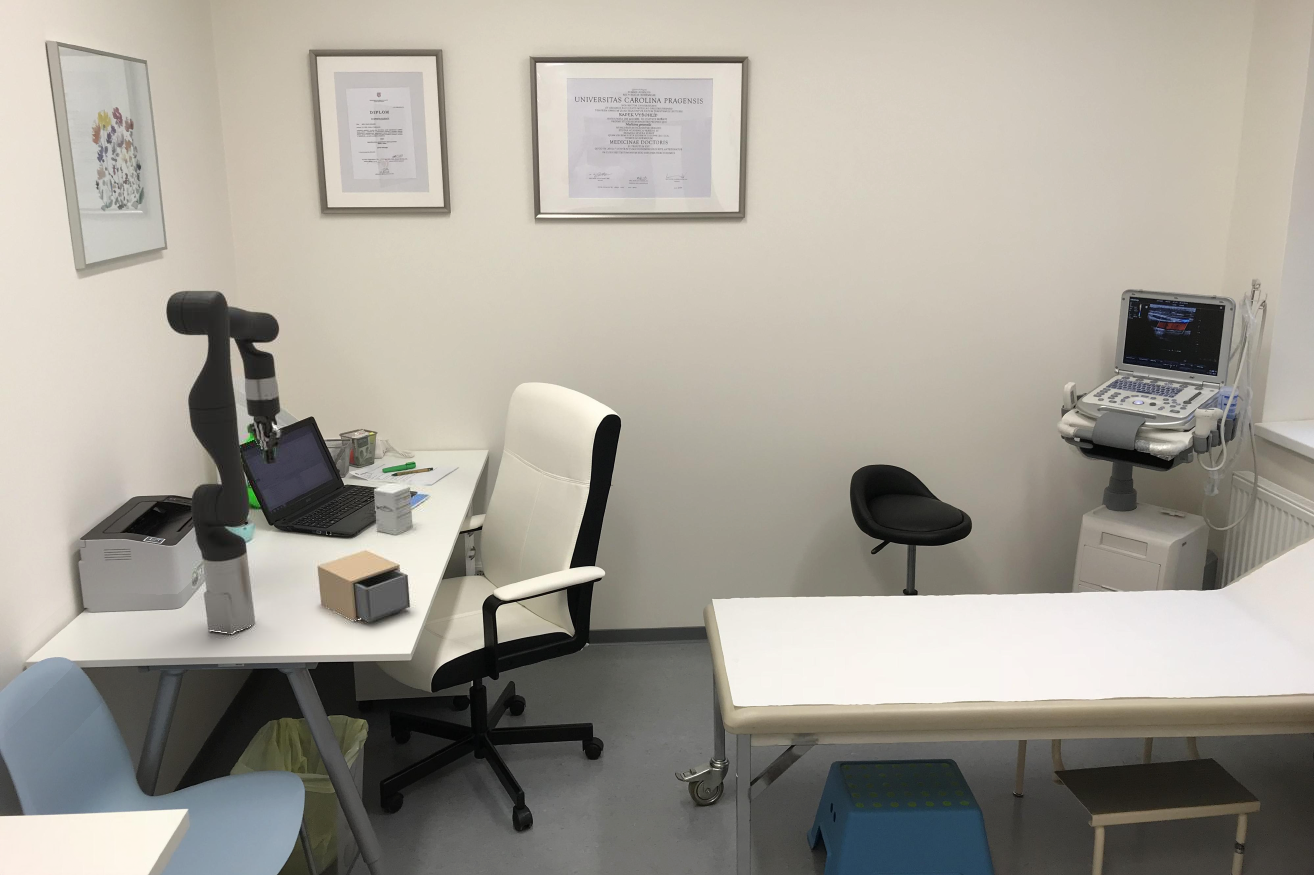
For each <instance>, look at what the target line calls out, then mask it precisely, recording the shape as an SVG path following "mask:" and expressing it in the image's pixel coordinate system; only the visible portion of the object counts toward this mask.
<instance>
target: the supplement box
mask: <svg viewBox="0 0 1314 875" xmlns="http://www.w3.org/2000/svg"><path fill="white" fill-rule="evenodd" d="M410 493H411V486H410V485H402V484H398V483H392V482H390V483H387V484H384V485H381V486H379V487H377V488H374V489H373V496H374V505H375V511H376V514H375V521H376V522H375V524H376V531H377V532H380V533H381V532H382V533H386V534H391V535H394V536H397V535H400V534H402V533H404V532H406V531H408V530H410V529H413V512H412V510H413V509H411V494H410Z"/></svg>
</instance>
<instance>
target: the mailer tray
mask: <svg viewBox="0 0 1314 875" xmlns="http://www.w3.org/2000/svg"><path fill="white" fill-rule="evenodd" d="M408 575H409V574H406V573H404V572H402V571H401V570H400V571H397V570H395V569H393V570H390V571H387V572H384V573H381V574H378V575H375V576H372V577H369V578H367V579H364V580H361V581H358V582H355V583H353V587H354V598H355V610H356V616H357V617H359V618H361V620H364V621H366V623H367V622H368V623H371V622H374V621H376V620H380V619H382V618H385V617H387V616H389V615H392V614H395V613H397V612H400V611H403V610H405V609H408V608H411V604H410V602H411V601H410V589H409V588H410V587H409V576H408Z"/></svg>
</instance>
